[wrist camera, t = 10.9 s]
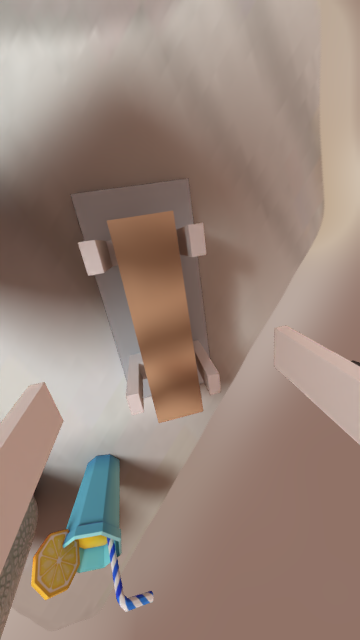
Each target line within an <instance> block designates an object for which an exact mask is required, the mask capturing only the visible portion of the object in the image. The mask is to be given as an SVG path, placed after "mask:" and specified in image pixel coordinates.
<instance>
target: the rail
mask: <svg viewBox="0 0 360 640" xmlns="http://www.w3.org/2000/svg"><path fill="white" fill-rule="evenodd" d="M107 224H108V228H109V232H110V236H111V240H112V243H113V247H114V251H115V255H116V259H117V263H118V267H119V271H120V274H121V278H122V282H123V286H124V290H125V294H126V298H127V302H128V305H129V309H130V313H131V317H132V321H133V325H134V329H135V333H136V337H137V340H138V344H139V348H140V352H141V356H142V360H143V364H144V368H145V371H146V375H147V379H148V383H149V387H150V391H151V395H152V399H153V402H154V406H155V410H156V414H157V418H158V422H159V423H161V422H165V421H169V420H173V419H176V418H180V417H184V416H187V415H191V414H195V413H199V412H202V411H203V406H202V399H201V392H200V386H199V379H198V372H197V366H196V359H195V352H194V346H193V339H192V332H191V326H190V319H189V312H188V306H187V299H186V292H185V286H184V279H183V272H182V266H181V259H180V252H179V246H178V239H177V232H176V226H175V219H174V212H173V211H167V212H160V213H154V214H147V215H140V216H134V217H127V218H121V219H114V220H107Z"/></svg>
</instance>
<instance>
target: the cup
mask: <svg viewBox="0 0 360 640" xmlns="http://www.w3.org/2000/svg"><path fill="white" fill-rule="evenodd" d="M119 502H120V462H119V459H117V458H115V457H114V456H112V455H110V454H109V455H100V456H96V457H95V458H94V459H93V460H91V461H90V462H89V463H88V465H87V468H86V471H85V474H84V477H83V480H82V483H81V486H80V489H79V492H78V495H77V498H76V501H75V504H74V507H73V510H72V513H71V516H70V519H69V522H68V525H67V528H66V529H65V530H61V531H57V532H54V533H50V534H49V535H48V536H47V538H46V539H45V541H44V542H43V544H42V545H41V546H40V548H39V549H38V551H37V552H36V554H35V555H34V557H33V567H32V582H31V586H32V587H33V588H34V589H35V590H36V591H37V592H38V593H39V594H40V595H41V596H42V597H43V598H44V599H45V600H47V599H49V598H51V597H53V596H55V595H58V594H60V593H62V592H64V591H66V590H67V589H68V588H69V586H70V584H71V582H72V580H73V578H74V576H75V573H76V572H78V573H81V572H86V571H91V570H96V569H101V568H104V567H105V566H107V565H108V564H109V563H111V568H112V574H113V580H114V586H115V592H116V599H117V601H118V603H119V605H120V606H121V608H122V609H123V610H124V611H126V612H127V611H129V610H132V609H135V608H137V607H139V606H142V605H145V604H148V603H150V602H153V593H152V591H149V592H146V593H143V594H139V595H137V596H133V597H130V598H127V597H126V596H125V595H124V593H123V588H122V582H121V577H120V571H119V566H118V560H117V557H118V556H120V554H121V553H122V552H121V529H119Z"/></svg>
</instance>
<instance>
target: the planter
mask: <svg viewBox="0 0 360 640" xmlns="http://www.w3.org/2000/svg"><path fill="white" fill-rule="evenodd" d="M37 521H38V507H37V503H36V500H35V497H34V495H33V496H32V499H31V501H30V503H29V506H28V508H27V511H26V513H25V516H24V518H23V520H22V523H21V525H20V528H19V530H18V533H17V535H16V537H15V540H14V542H13V545H12V547H11V550H10V552H9V554H8V557H7V559H6V562H5V564H4V567H3V569H2V572H1V574H0V638H1V635H2V632H3V630H4V627H5V623H6V621H7V618H8V614H9V611H10V609H11V606H12V603H13V600H14V596H15V593H16V590H17V587H18V584H19V581H20V578H21V575H22V572H23V569H24V566H25V563H26V560H27V557H28V554H29V551H30V548H31V545H32V542H33V538H34V534H35V531H36V527H37Z"/></svg>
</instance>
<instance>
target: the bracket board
mask: <svg viewBox="0 0 360 640" xmlns="http://www.w3.org/2000/svg"><path fill="white" fill-rule="evenodd" d="M70 195H71V198H72V202H73V205H74V208H75V211H76V215H77V218H78V221H79V225H80V228H81V231H82V235H83V238H84V242H78V245H79V248H80V252H81V255H82V258H83V261H84V264H85V268H86V271H87V274H88V276H90V275H95V278H96V281H97V284H98V288H99V291H100V294H101V298H102V301H103V304H104V307H105V311H106V314H107V317H108V321H109V324H110V327H111V331H112V334H113V337H114V341H115V344H116V347H117V351H118V354H119V357H120V360H121V364H122V367H123V370H124V374H125V377H126V380H127V390H126V398H127V401H128V405H129V408H130V411H131V414H132V415H135V414H139V413H142V412H144V403H143V398H145V397H149V396H152V395H151V391H150V387H149V383H148V379H147V375H146V371H145V368H144V364H143V360H142V356H141V352H140V348H139V344H138V340H137V337H136V333H135V329H134V325H133V321H132V317H131V313H130V309H129V305H128V302H127V298H126V294H125V290H124V286H123V282H122V278H121V274H120V271H119V267H118V263H117V259H116V255H115V251H114V247H113V243H112V240H111V236H110V232H109V228H108V224H107V220H114V219H121V218H127V217H134V216H140V215H147V214H154V213H160V212H167V211H173V212H174V219H175V226H176V232H177V239H178V246H179V252H180V259H181V266H182V272H183V279H184V286H185V292H186V299H187V306H188V312H189V319H190V326H191V332H192V339H193V346H194V352H195V359H196V366H197V372H198V379H199V384H201V383H205V385H206V387H207V389H208V391H209V394H210V395H212V394H216V393H219V392H221V387H220V378H219V372H218V371H217V369H216V368H215V366H214V364H213V363H212V361H211V359H210V355H209V346H208V338H207V330H206V321H205V313H204V305H203V296H202V288H201V279H200V271H199V263H198V256H202V255H207V253H206V244H205V234H204V225H203V223H196V224H194V221H193V213H192V204H191V196H190V188H189V179H188V178H187V179H180V180H172V181H165V182H157V183H150V184H142V185H135V186H127V187H120V188H113V189H105V190H98V191H90V192H83V193H75V194H70Z"/></svg>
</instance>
